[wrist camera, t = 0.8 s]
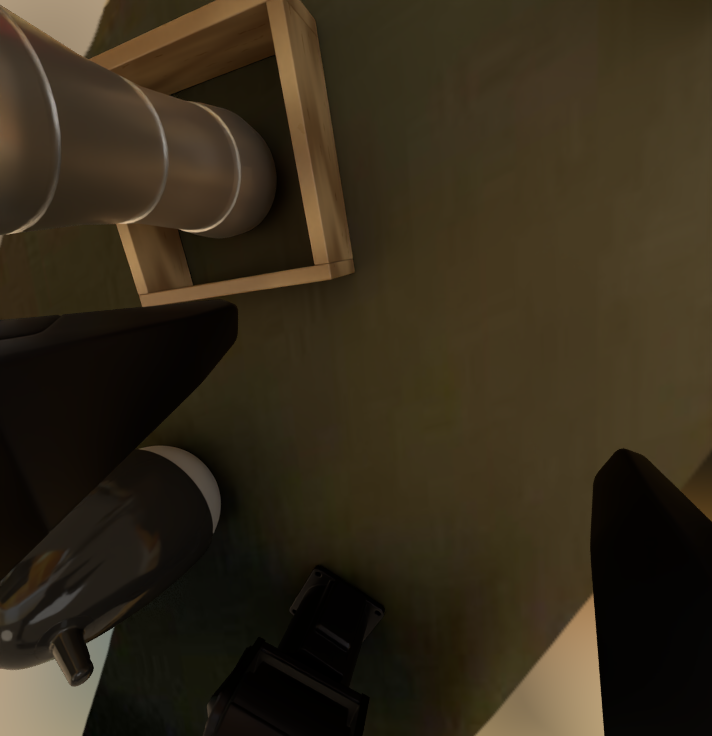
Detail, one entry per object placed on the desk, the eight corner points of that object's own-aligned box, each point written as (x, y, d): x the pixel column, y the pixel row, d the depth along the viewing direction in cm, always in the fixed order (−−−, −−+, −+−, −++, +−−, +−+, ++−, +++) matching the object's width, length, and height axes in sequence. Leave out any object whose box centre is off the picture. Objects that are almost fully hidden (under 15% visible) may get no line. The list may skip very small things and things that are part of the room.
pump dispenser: (238, 548, 34) (70, 762, 20) (141, 504, 36) (-70, 671, 22) (248, 452, 30) (50, 637, 16) (139, 410, 32) (-117, 541, 18)
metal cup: (180, 140, 24) (-800, -169, 6) (275, 103, 21) (-886, -639, 3) (211, 248, 25) (-466, 279, 7) (303, 224, 23) (-361, 183, 5)
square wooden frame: (355, 272, 23) (331, 279, 19) (187, 298, 27) (142, 308, 24) (315, 19, 19) (277, -30, 16) (130, 94, 24) (66, 68, 20)
